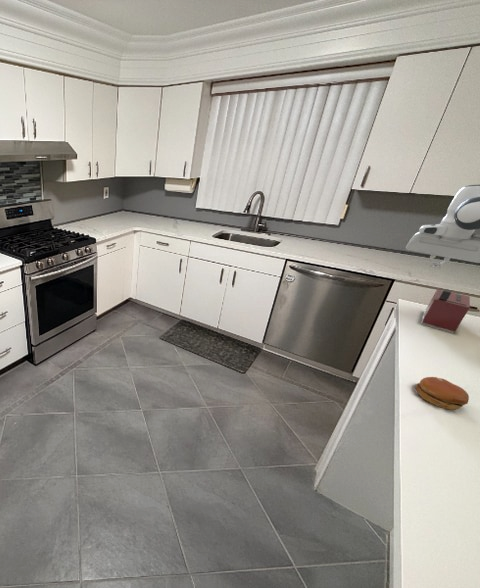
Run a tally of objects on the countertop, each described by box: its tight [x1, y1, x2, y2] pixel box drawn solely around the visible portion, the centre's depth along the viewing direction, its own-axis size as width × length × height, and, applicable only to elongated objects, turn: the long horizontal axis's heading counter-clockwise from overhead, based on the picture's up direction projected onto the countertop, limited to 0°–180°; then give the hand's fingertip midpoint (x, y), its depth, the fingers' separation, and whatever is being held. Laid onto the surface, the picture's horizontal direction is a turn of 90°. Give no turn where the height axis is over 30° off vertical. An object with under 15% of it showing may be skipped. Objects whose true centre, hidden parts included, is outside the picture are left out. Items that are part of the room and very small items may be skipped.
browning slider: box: [439, 289, 452, 300], centre depth 117 cm, size 2×2×3 cm
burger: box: [415, 376, 470, 411], centre depth 84 cm, size 10×9×5 cm
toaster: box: [420, 288, 471, 334], centre depth 122 cm, size 15×9×11 cm, turn 131°
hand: (434, 267), depth 117 cm, fingers closed
